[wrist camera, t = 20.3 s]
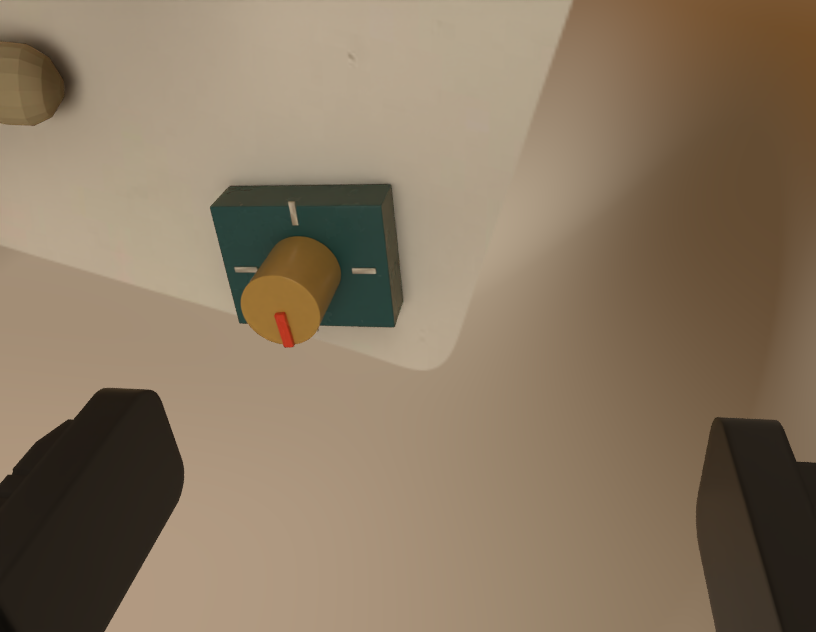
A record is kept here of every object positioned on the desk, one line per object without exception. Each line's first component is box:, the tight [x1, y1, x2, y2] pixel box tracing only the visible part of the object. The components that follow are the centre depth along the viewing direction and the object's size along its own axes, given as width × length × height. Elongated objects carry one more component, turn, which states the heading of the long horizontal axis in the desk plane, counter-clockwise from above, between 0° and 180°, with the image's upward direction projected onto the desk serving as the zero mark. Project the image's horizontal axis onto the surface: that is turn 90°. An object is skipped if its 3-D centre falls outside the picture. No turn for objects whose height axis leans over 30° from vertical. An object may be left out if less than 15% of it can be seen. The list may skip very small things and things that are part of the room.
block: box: [210, 184, 403, 331], centre depth 43 cm, size 10×9×3 cm
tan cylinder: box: [241, 236, 341, 348], centre depth 40 cm, size 4×4×5 cm
